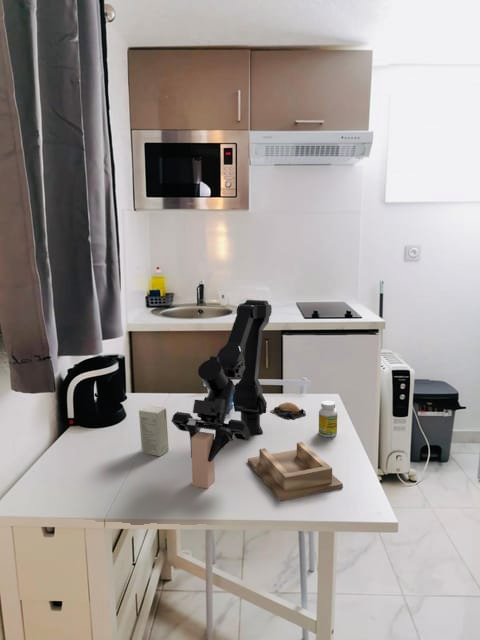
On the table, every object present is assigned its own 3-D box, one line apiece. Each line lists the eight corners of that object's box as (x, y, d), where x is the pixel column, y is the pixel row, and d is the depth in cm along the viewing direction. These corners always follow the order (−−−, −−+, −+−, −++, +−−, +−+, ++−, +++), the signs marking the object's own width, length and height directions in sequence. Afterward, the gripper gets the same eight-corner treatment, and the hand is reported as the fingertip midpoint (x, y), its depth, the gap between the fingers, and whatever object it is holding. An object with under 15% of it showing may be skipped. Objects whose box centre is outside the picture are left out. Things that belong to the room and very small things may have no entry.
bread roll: (268, 413, 164) (267, 403, 163) (285, 407, 169) (285, 397, 168) (291, 422, 156) (291, 411, 155) (309, 416, 161) (309, 405, 160)
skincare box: (169, 450, 136) (167, 408, 133) (160, 457, 132) (158, 413, 130) (149, 446, 138) (147, 404, 136) (140, 452, 134) (138, 409, 132)
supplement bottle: (328, 428, 149) (328, 398, 148) (340, 434, 145) (341, 403, 143) (314, 432, 147) (315, 401, 145) (327, 439, 142) (328, 407, 140)
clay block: (199, 477, 121) (198, 431, 119) (214, 480, 119) (214, 433, 117) (192, 485, 117) (191, 437, 115) (207, 488, 116) (206, 440, 113)
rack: (247, 461, 129) (247, 445, 128) (303, 451, 134) (303, 436, 133) (280, 500, 110) (280, 482, 109) (342, 487, 116) (343, 469, 115)
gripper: (173, 380, 121) (152, 441, 113) (245, 388, 114) (228, 453, 106) (189, 400, 129) (170, 458, 121) (256, 409, 123) (241, 471, 115)
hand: (200, 459), depth 116 cm, fingers closed on clay block, 4 cm apart
